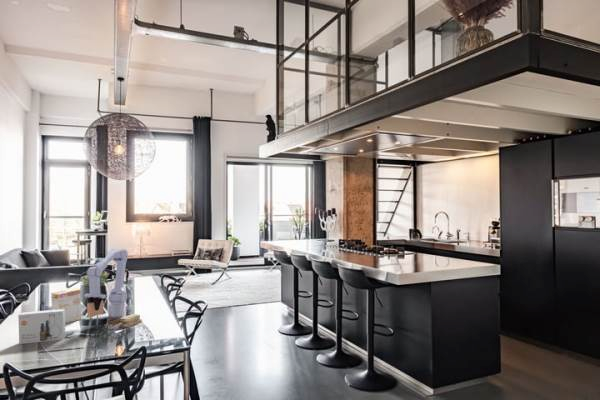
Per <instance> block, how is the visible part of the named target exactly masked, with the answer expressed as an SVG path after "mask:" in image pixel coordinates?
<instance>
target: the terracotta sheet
mask: <svg viewBox="0 0 600 400" xmlns="http://www.w3.org/2000/svg"><path fill="white" fill-rule="evenodd" d="M86 305H87V307H86V310H87V311H86V313H87V318H93V317H96V316H99V315H103V314H104V299H102V301H101V303H100V307H99V310H95V305H94V302H91V303H89V302H88V303H86Z"/></svg>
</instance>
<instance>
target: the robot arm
mask: <svg viewBox="0 0 600 400" xmlns="http://www.w3.org/2000/svg"><path fill="white" fill-rule="evenodd" d="M128 255H129V252H128V251H127V249H126V248H111V249H110V250H109V251H108V254H107V255H106V256H105V257H104V259H99V260H98V261H97V263H95V264H94V265H93V266H90V267H89V268H87V269H86V270H87V271H86V276H87V279H88V281H89V283H88V284H89V285H88V286H89V293H84V298H85V299H86V298H87V301H88V303H91V302H94V305H95V310H99V307H100V303H101V301H102V300H104V299H106V298H107V294H104V293H101V276H102V274H103V272H104V270H105V269H106V268H108V264H109V263H111V262H112V261H113V262H115V263H116V270H115V271H116V272H115V279H114V287H113V289H111V290H110V292H109V295H108V301H109V303H110V304H109V305H108V307H107V309H108V311H107V312H108V313H107V315H108V317H112V318H122V317H123V316H124V317H125V303H126V302H127V299H128V295H127V293H128V292H127V290H126V289H124V282H125V274H126V264H127V261H128Z"/></svg>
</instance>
